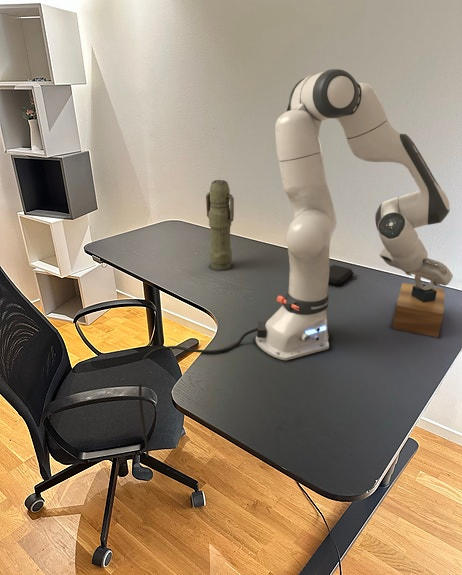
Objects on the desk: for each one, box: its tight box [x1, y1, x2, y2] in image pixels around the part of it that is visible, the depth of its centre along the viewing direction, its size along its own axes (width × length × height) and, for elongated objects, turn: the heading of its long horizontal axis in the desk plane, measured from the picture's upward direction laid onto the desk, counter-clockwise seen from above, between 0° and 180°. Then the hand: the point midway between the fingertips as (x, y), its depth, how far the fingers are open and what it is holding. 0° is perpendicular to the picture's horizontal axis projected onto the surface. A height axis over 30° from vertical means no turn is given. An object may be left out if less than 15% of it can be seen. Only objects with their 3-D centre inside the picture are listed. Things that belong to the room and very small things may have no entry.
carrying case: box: [328, 264, 355, 287], centre depth 169 cm, size 11×3×15 cm
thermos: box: [205, 179, 235, 271], centre depth 174 cm, size 9×12×35 cm
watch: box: [411, 275, 437, 303], centre depth 135 cm, size 6×8×11 cm
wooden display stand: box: [392, 282, 446, 338], centre depth 139 cm, size 18×13×8 cm
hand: (423, 278), depth 134 cm, fingers open, 8 cm apart
